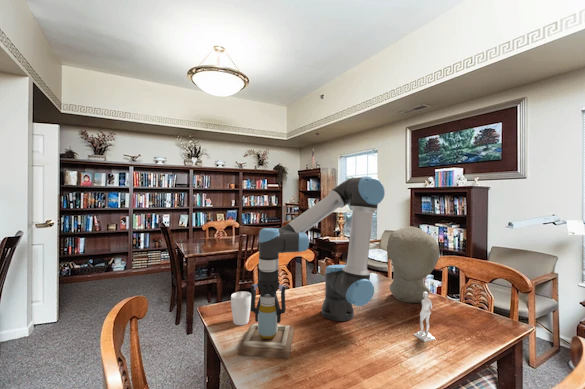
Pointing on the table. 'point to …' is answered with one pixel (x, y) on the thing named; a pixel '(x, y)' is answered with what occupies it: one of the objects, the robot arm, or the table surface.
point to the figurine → (425, 315)
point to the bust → (411, 262)
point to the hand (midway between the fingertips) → (267, 330)
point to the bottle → (267, 317)
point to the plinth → (267, 343)
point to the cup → (241, 307)
